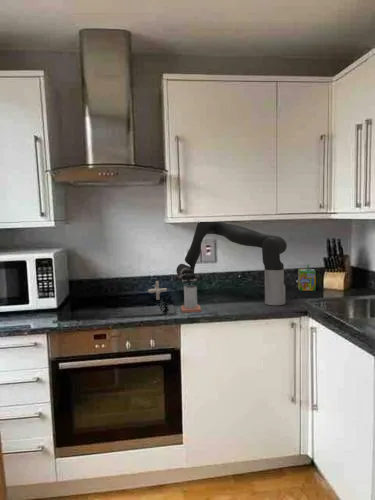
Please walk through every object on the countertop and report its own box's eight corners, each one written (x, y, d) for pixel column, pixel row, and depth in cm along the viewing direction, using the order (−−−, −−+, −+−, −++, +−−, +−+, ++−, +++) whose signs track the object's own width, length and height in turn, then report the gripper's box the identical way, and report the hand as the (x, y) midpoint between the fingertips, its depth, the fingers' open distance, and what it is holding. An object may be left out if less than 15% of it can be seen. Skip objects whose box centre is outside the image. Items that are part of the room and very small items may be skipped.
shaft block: (199, 307, 183) (198, 294, 183) (201, 311, 175) (200, 298, 174) (181, 308, 183) (180, 295, 182) (182, 312, 174) (181, 299, 173)
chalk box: (297, 287, 222) (297, 263, 220) (314, 288, 220) (313, 263, 218) (299, 291, 213) (299, 265, 211) (316, 291, 211) (316, 265, 209)
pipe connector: (150, 302, 197) (149, 283, 196) (147, 298, 207) (146, 280, 206) (168, 300, 200) (168, 282, 199) (165, 296, 210) (164, 279, 209)
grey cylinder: (196, 305, 182) (195, 285, 181) (197, 308, 176) (197, 287, 175) (184, 306, 181) (183, 285, 181) (185, 309, 176) (184, 288, 175)
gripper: (174, 269, 204) (175, 273, 188) (199, 267, 205) (203, 271, 189) (174, 282, 205) (176, 287, 189) (200, 281, 206) (204, 286, 190)
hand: (189, 279), depth 189 cm, fingers open, 8 cm apart
